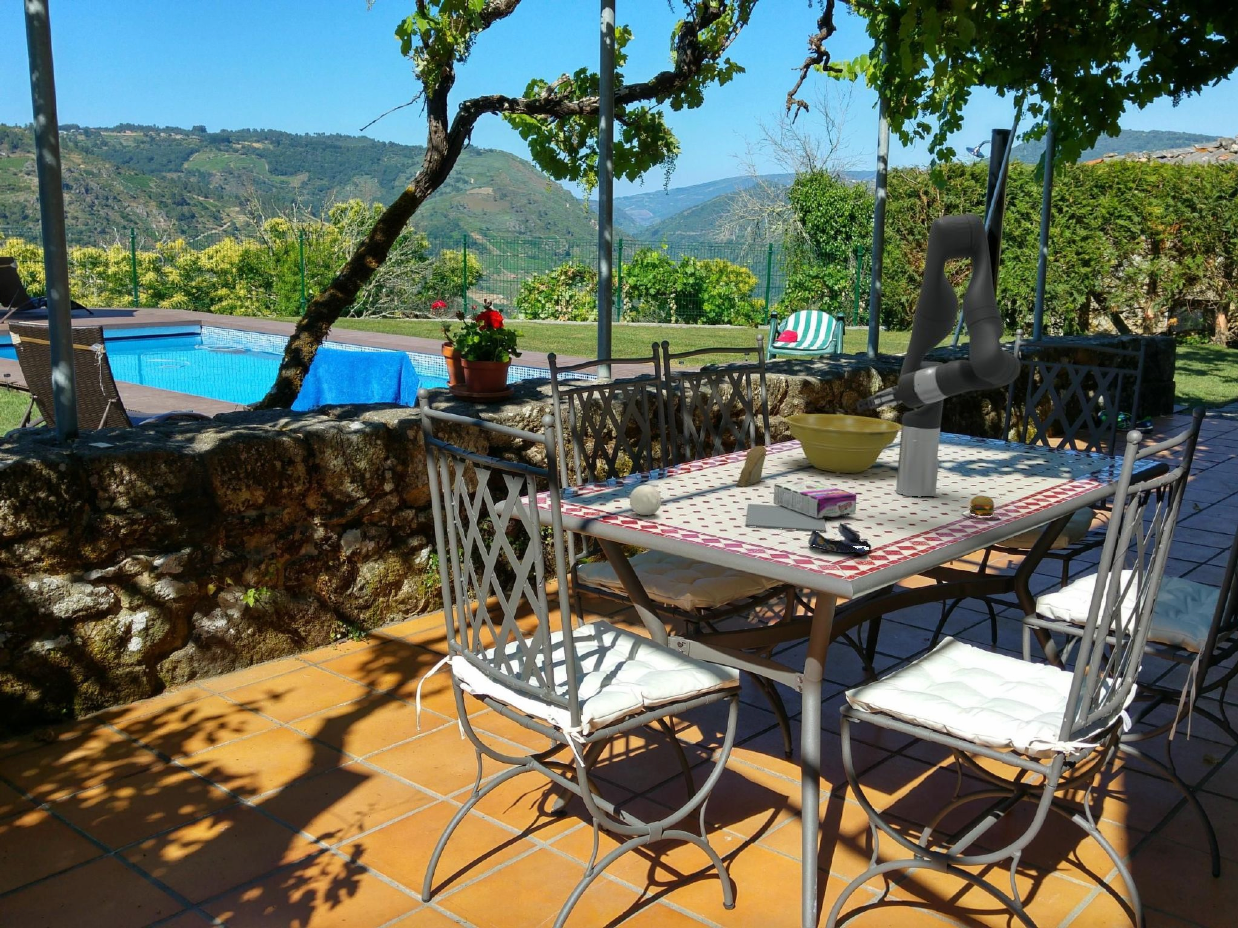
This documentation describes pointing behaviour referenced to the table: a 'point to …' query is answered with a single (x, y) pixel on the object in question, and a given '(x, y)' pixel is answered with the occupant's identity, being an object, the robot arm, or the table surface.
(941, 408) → the robot arm
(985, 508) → the hamburger
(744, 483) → the rock
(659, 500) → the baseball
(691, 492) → the table surface
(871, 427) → the planter bowl
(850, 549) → the snack package
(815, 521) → the mat
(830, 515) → the candy bar box
